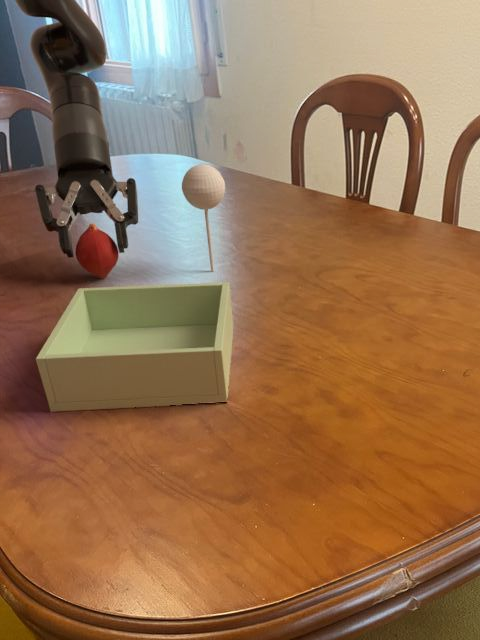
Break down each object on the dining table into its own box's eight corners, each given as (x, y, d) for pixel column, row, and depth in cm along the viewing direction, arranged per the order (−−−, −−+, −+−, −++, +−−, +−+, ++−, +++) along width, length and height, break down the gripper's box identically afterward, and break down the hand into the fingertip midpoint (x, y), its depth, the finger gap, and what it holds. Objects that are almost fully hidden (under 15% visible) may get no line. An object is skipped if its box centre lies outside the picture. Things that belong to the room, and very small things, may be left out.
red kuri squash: (73, 280, 95) (60, 225, 91) (104, 268, 99) (93, 214, 95) (99, 288, 93) (87, 231, 88) (130, 275, 97) (120, 221, 92)
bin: (50, 412, 66) (35, 358, 62) (88, 334, 80) (78, 288, 77) (227, 403, 67) (221, 350, 63) (233, 328, 81) (229, 282, 78)
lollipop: (208, 261, 101) (196, 158, 93) (240, 267, 99) (231, 162, 91) (184, 275, 96) (169, 167, 88) (217, 281, 94) (206, 171, 86)
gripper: (22, 133, 90) (35, 244, 87) (129, 127, 93) (145, 235, 90) (35, 165, 97) (48, 269, 94) (135, 159, 100) (150, 259, 97)
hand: (95, 252), depth 92 cm, fingers open, 6 cm apart
